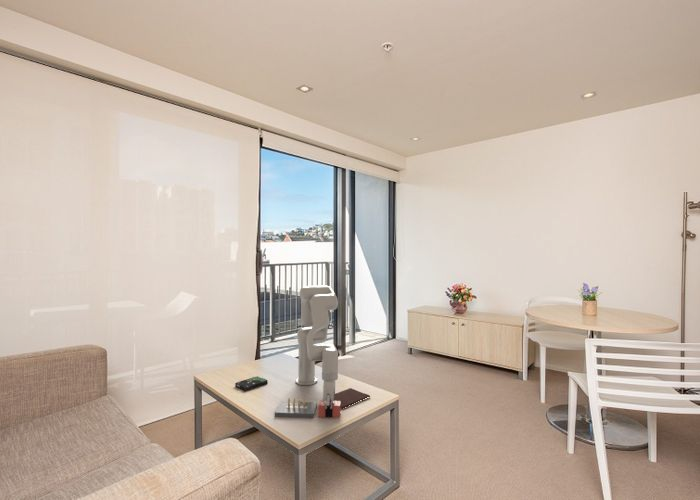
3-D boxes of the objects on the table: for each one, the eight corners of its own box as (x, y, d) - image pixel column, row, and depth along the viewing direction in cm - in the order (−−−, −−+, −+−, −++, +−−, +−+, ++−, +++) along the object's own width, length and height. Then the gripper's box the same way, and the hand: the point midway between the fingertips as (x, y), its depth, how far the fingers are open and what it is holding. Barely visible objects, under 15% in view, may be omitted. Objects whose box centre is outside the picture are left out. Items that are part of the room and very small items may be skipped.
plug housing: (319, 411, 167) (319, 400, 167) (340, 412, 167) (340, 401, 167) (318, 417, 162) (318, 405, 162) (339, 417, 162) (339, 405, 162)
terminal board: (281, 405, 174) (281, 393, 174) (317, 406, 173) (317, 394, 173) (274, 416, 162) (274, 403, 162) (313, 418, 161) (313, 405, 161)
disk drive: (245, 392, 190) (267, 384, 201) (245, 387, 190) (267, 379, 201) (234, 387, 197) (257, 380, 208) (234, 382, 197) (257, 375, 208)
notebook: (322, 401, 181) (322, 397, 181) (350, 390, 194) (350, 387, 194) (342, 410, 170) (342, 406, 170) (370, 399, 184) (370, 395, 184)
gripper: (324, 369, 173) (323, 405, 173) (319, 381, 156) (319, 422, 156) (339, 369, 173) (339, 406, 173) (336, 382, 156) (335, 423, 156)
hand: (329, 413), depth 164 cm, fingers closed on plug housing, 5 cm apart
